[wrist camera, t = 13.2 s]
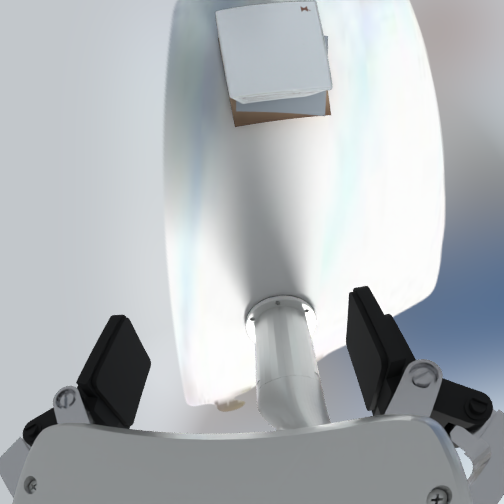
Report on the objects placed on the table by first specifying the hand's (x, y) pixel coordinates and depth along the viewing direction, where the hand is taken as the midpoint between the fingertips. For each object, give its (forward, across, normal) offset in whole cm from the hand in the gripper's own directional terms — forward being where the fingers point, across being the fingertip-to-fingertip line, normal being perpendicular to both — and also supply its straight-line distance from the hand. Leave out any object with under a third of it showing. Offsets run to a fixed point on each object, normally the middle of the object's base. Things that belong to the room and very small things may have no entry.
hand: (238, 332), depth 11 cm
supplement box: (+24, -4, -13) cm, 28 cm away
